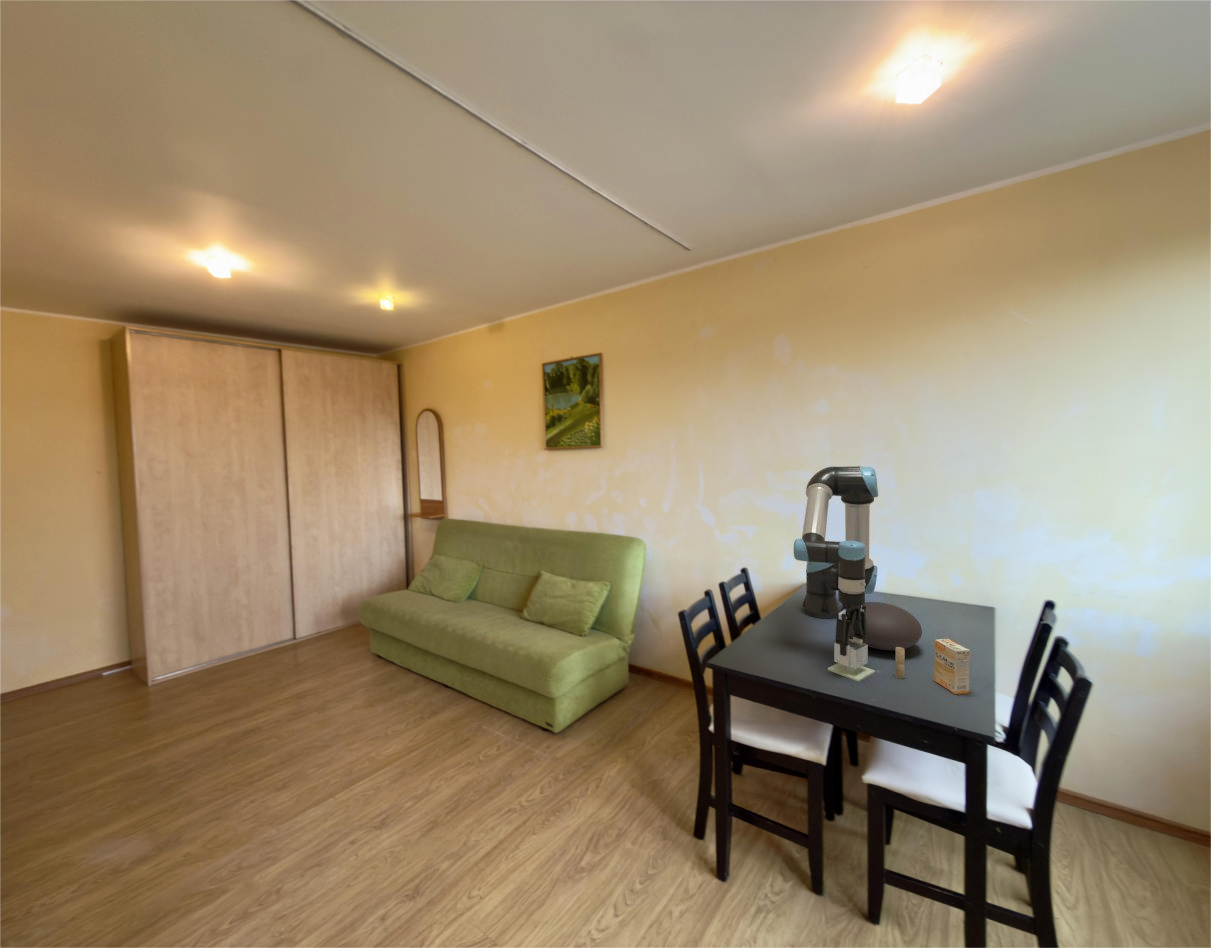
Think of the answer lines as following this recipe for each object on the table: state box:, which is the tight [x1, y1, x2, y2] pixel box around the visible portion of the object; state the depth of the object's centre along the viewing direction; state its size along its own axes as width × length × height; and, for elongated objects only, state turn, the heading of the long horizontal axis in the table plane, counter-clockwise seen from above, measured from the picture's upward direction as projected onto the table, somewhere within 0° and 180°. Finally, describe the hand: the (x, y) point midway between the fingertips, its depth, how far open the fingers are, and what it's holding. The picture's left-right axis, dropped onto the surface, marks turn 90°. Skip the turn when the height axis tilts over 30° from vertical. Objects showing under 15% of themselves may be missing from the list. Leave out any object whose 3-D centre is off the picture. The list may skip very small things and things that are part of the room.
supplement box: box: [933, 638, 971, 695], centre depth 144 cm, size 8×5×13 cm, turn 5°
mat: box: [827, 662, 876, 682], centre depth 156 cm, size 10×10×1 cm
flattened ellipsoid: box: [846, 601, 923, 651], centre depth 174 cm, size 25×25×15 cm
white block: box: [833, 638, 869, 669], centre depth 156 cm, size 7×7×6 cm
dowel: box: [894, 647, 906, 680], centre depth 151 cm, size 2×2×9 cm
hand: (851, 661), depth 156 cm, fingers closed on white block, 7 cm apart
